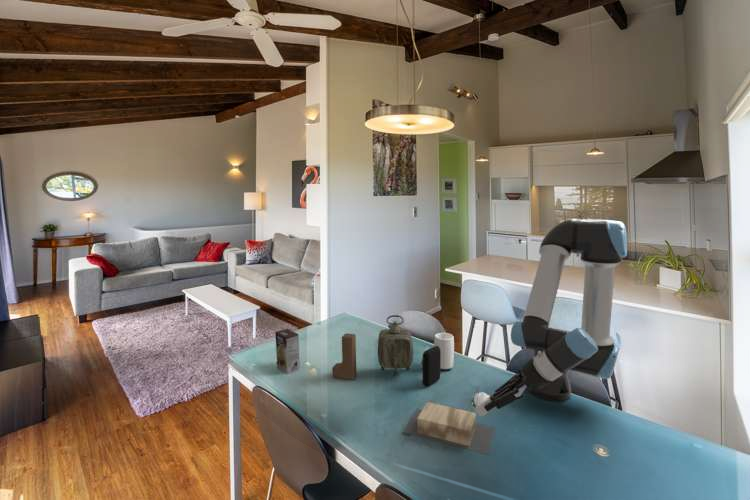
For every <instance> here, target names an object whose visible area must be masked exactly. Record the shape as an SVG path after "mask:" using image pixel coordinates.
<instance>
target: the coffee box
mask: <svg viewBox="0 0 750 500" xmlns="http://www.w3.org/2000/svg"><path fill="white" fill-rule="evenodd" d="M274 332H275V334H274V335H275V347H276V351H275V352H276V367H277V368H278V369H279V370H281V371H282V372H284V373H285V374H287V375H289V374H292V373H294V372H297V371H300V370H301V369H300V368H301V367H300V366H301V365H300V340H299V338H300V337H299V336H300V335H299V333H298V332H295V331H293V330H291V329H290V328H286V329H281V330H277V331H274Z"/></svg>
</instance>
